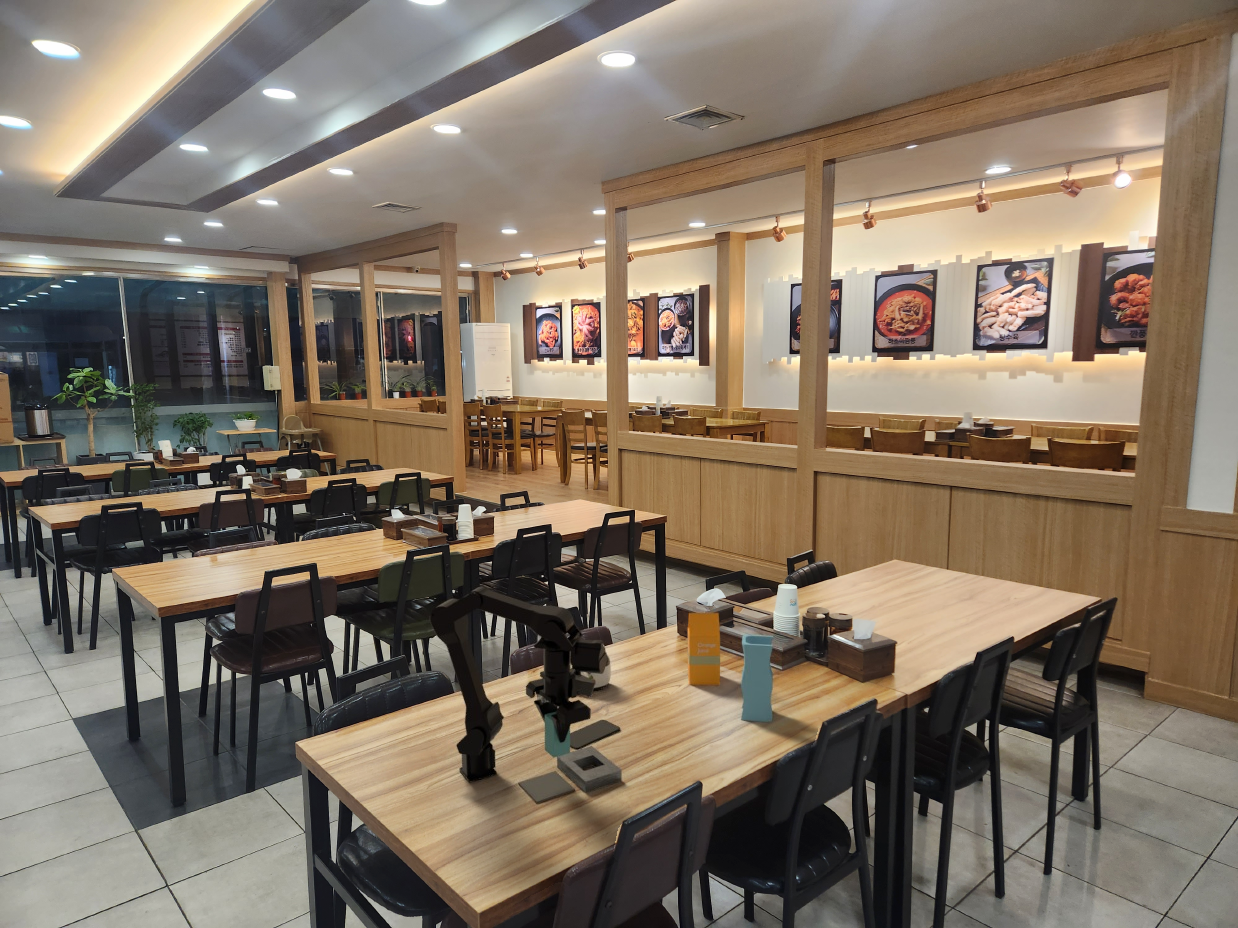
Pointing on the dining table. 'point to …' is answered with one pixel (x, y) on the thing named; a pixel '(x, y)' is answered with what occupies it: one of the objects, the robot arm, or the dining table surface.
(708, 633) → the orange juice
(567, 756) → the gray rectangular frame
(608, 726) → the smartphone
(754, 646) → the vase
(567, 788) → the dark gray square pad
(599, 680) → the spread jar
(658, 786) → the dining table surface
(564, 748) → the teal square block
